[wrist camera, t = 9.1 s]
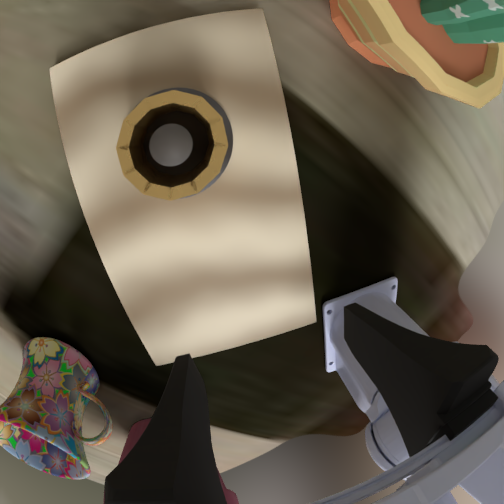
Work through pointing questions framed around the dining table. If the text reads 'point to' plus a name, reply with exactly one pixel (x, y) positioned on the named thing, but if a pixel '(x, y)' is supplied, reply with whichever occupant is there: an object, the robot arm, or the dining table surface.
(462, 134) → the dining table surface
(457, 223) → the dining table surface
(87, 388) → the mug
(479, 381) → the robot arm
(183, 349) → the post board
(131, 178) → the brass collar
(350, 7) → the potted cactus
